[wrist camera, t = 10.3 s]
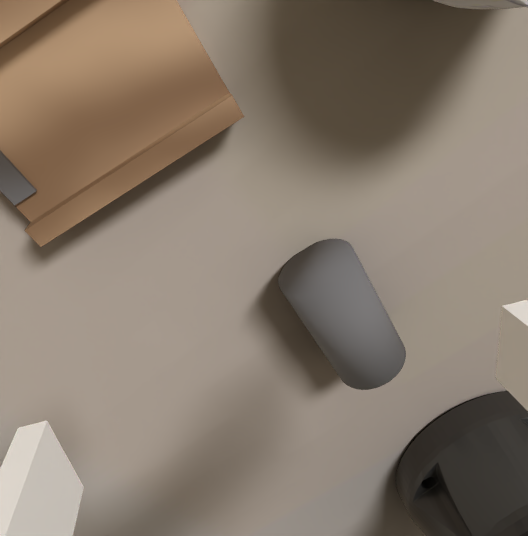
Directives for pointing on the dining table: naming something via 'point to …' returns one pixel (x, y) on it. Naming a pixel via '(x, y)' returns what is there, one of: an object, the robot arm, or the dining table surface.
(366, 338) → the gray cylinder
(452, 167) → the dining table surface
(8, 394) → the dining table surface
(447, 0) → the teacup
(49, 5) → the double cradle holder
